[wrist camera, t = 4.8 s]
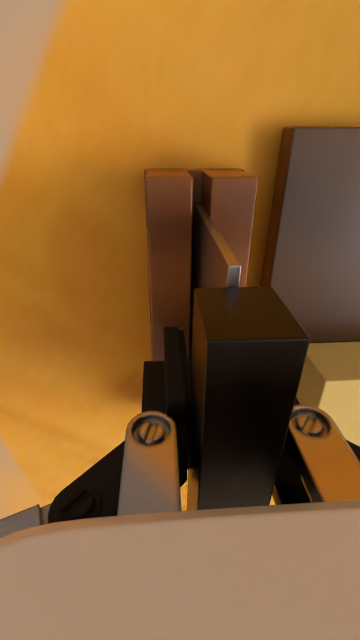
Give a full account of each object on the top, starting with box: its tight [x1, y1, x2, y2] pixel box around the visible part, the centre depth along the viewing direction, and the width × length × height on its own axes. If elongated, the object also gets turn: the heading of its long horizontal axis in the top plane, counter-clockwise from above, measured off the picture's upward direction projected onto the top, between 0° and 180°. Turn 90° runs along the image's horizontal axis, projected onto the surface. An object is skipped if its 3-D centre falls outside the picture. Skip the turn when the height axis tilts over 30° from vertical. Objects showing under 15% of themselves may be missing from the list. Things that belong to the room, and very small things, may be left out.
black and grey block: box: [187, 204, 310, 511], centre depth 12 cm, size 10×2×9 cm, turn 0°
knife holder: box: [144, 169, 258, 371], centre depth 15 cm, size 13×4×3 cm, turn 0°
